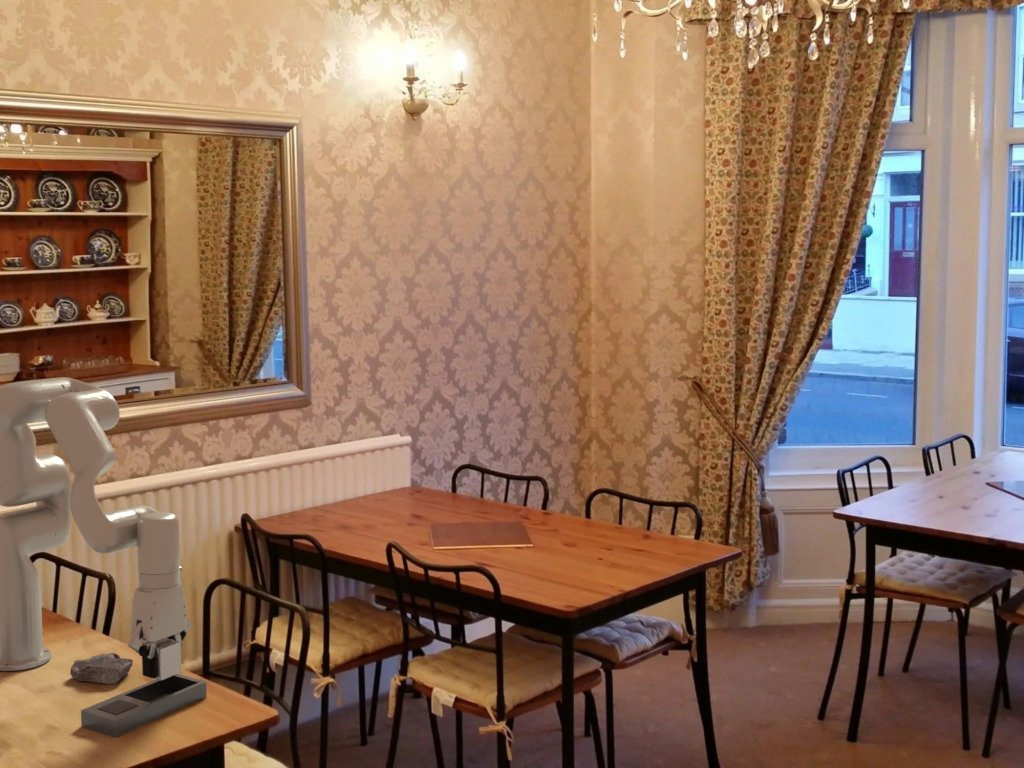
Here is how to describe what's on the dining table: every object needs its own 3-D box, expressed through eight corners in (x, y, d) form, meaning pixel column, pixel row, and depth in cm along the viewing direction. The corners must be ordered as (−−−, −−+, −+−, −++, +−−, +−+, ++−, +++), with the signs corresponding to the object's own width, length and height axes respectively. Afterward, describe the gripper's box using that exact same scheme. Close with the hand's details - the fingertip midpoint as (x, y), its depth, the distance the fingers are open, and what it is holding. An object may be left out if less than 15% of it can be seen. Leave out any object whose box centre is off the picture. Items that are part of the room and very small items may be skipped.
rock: (83, 669, 240) (82, 648, 239) (137, 671, 239) (136, 650, 238) (65, 684, 232) (64, 662, 231) (121, 687, 231) (120, 665, 230)
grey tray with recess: (81, 726, 212) (80, 709, 211) (173, 687, 231) (172, 672, 230) (115, 737, 207) (115, 720, 207) (206, 696, 226) (206, 681, 226)
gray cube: (142, 675, 221) (141, 643, 220) (162, 667, 225) (161, 635, 224) (161, 680, 218) (160, 648, 218) (181, 672, 223) (180, 640, 222)
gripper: (178, 565, 229) (180, 654, 231) (109, 586, 214) (111, 682, 216) (207, 571, 225) (208, 662, 227) (137, 593, 210) (140, 690, 213)
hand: (161, 671), depth 222 cm, fingers closed on gray cube, 5 cm apart
